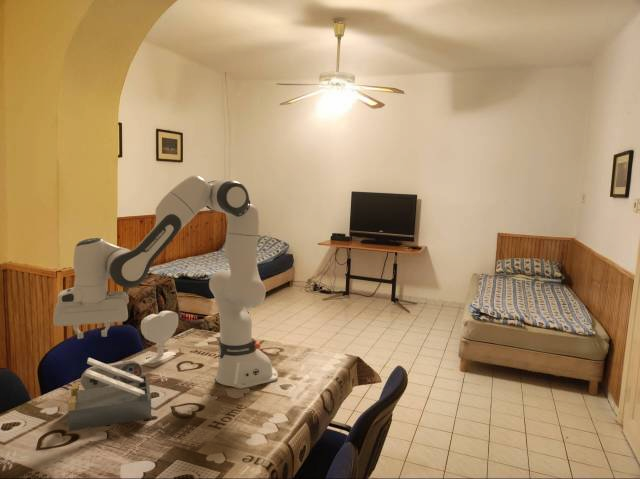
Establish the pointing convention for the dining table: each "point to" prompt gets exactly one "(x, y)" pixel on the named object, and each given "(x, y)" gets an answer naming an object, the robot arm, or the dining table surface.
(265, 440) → the dining table surface
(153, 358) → the heart sculpture
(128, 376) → the strap far
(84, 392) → the grey boxy piece
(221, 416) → the dining table surface
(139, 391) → the strap near
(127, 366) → the game controller
